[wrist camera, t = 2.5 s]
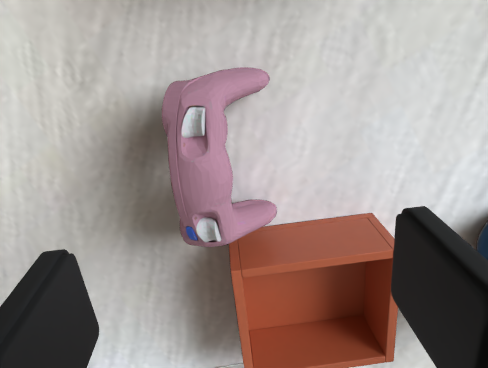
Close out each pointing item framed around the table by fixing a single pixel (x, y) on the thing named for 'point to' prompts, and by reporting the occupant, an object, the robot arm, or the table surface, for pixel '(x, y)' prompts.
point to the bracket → (234, 366)
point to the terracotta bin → (315, 294)
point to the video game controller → (209, 157)
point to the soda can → (483, 242)
